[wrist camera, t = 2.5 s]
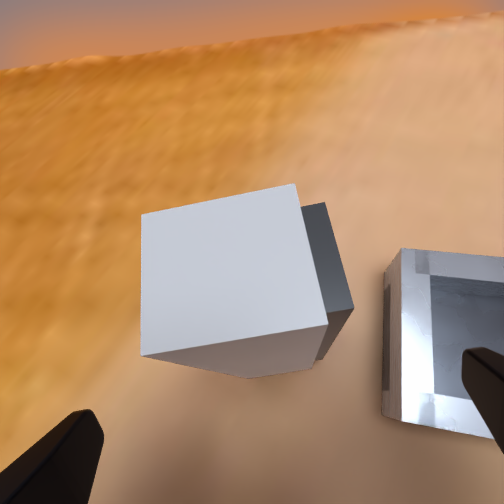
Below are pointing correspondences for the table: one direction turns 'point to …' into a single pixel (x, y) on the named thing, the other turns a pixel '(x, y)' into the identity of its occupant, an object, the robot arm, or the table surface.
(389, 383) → the grey l-shaped stand
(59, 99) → the table surface
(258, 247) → the tall grey pillar
